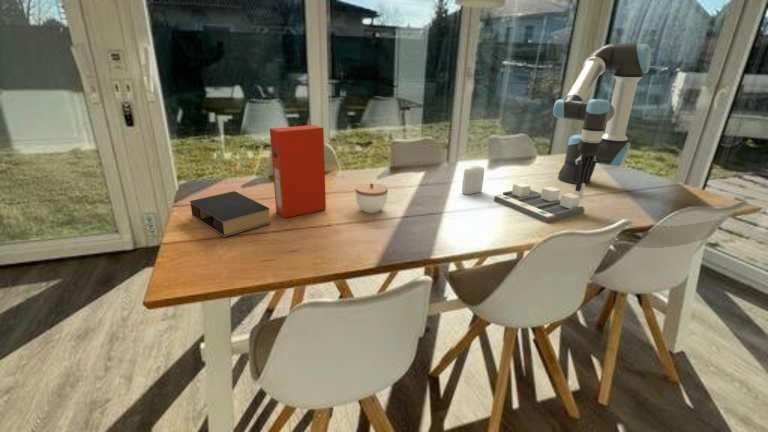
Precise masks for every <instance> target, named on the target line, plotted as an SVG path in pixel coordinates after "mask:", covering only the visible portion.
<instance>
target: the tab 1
mask: <svg viewBox="0 0 768 432" xmlns="http://www.w3.org/2000/svg"><path fill="white" fill-rule="evenodd" d="M530 190H531V185H529V184H527V183H524V182H518V183H517V182H516V183H513V184H512V189H511V191H512V194H513V195H516V196H518V197H525V196H529V192H530Z"/></svg>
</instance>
